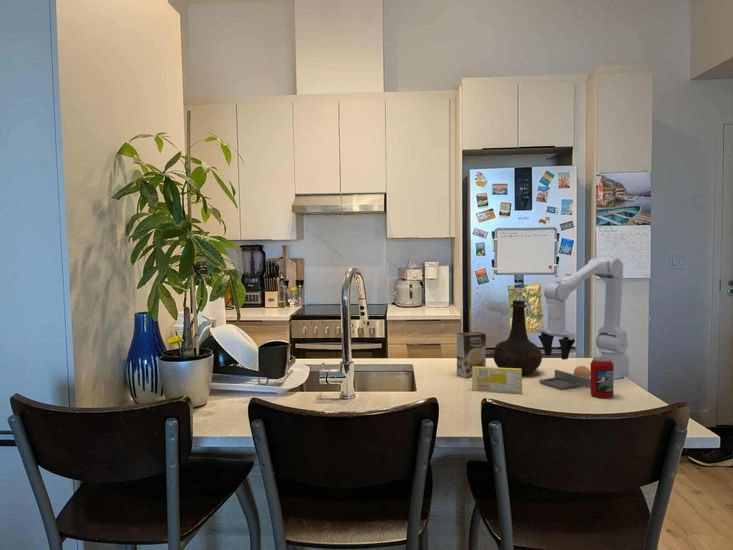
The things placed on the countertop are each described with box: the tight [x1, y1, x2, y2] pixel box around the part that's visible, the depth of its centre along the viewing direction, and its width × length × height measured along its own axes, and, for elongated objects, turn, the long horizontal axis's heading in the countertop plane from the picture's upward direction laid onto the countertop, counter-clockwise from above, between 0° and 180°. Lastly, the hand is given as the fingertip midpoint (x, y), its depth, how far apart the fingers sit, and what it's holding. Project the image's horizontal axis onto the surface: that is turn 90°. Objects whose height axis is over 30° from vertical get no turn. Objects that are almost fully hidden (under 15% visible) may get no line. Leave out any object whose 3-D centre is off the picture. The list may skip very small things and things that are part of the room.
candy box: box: [471, 366, 523, 395], centre depth 174 cm, size 16×2×8 cm, turn 71°
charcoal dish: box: [539, 376, 582, 391], centre depth 181 cm, size 9×10×1 cm
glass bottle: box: [492, 299, 543, 376], centre depth 199 cm, size 18×18×28 cm
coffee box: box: [456, 331, 487, 379], centre depth 196 cm, size 9×6×16 cm
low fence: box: [554, 369, 590, 389], centre depth 184 cm, size 1×16×3 cm, turn 26°
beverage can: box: [589, 356, 615, 399], centre depth 167 cm, size 7×7×12 cm
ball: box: [573, 365, 591, 378], centre depth 186 cm, size 6×6×6 cm
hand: (556, 357), depth 180 cm, fingers open, 7 cm apart
